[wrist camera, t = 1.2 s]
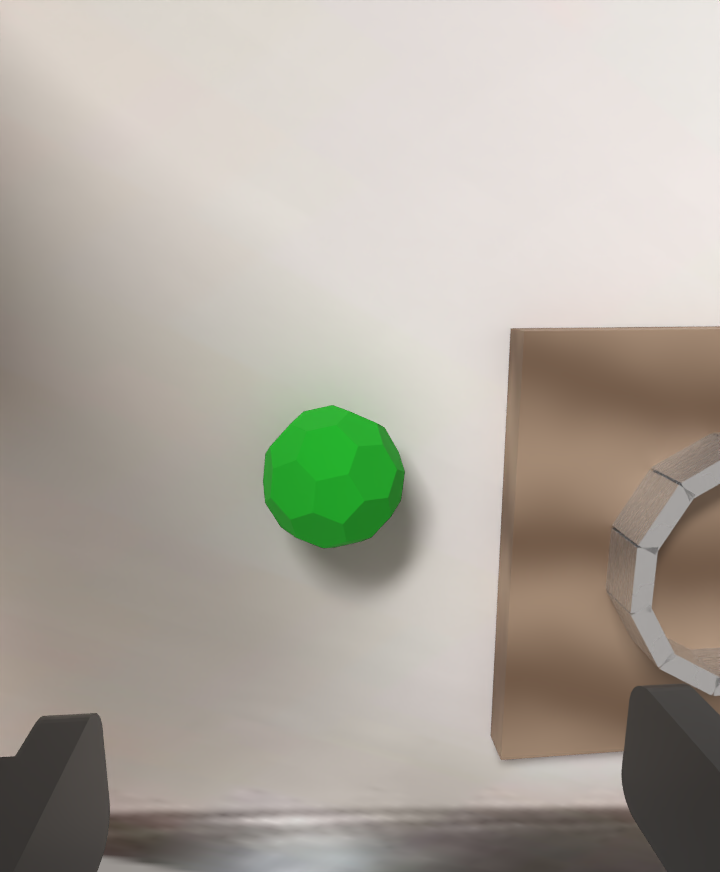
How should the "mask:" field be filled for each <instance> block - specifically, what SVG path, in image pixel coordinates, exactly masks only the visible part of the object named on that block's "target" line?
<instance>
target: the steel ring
mask: <svg viewBox="0 0 720 872" xmlns="http://www.w3.org/2000/svg"><path fill="white" fill-rule="evenodd" d="M651 468H652V470H653V471H651V470H649V471H648V472H647V474H646V475H645V477H644V478H643V480H642V481H641V483H640V484H639V486H638V487H637V489H636V490H635V492H634V493H633V495H632V496H631V498H630V499H629V501H628V502H627V504H626V505H625V507H624V508H623V510H622V511H621V513H620V514H619V516H618V517H617V519H616V520H615V522H614V523H613V525H612V526H613V527H615V528H611V535H610V546H609V557H608V568H607V579H606V590H607V591H606V592H607V594H608V596H609V597H610V599H611V601H612V603H613V605H614V607H615V609H616V611H617V613H618V615H619V616H620V618H621V620H622V622H623V624H624V626H625V628H626V630H627V632H628V633H629V635H630V637H631V639H632V640H633V641H634V643H635V644H636V645H637V646H638V647H639V648H640V649H641V650H642V651H643V652H644V653H645V654H646V655H647V656H648V657H649V658H650V659H651V660H652V662H653V663H654V664H655V665H656V666H657V667H658V668H659V669H661V670H663V671H664V672H666V673H668V674H670V675H672V676H674V677H676V678H678V679H680V680H682V681H684V682H686V683H688V684H690V685H692V686H694V687H696V688H698V689H700V690H702V691H704V692H706V693H707V694H709V695H713V696H720V648H703V649H688V648H686V647H684V646H682V645H680V644H679V643H677V642H675V641H673V640H671V639H669V638H667V637H666V636H665V634H664V632H663V630H662V628H661V626H660V624H659V622H658V620H657V618H656V616H655V614H654V612H653V610H652V600H653V590H654V581H655V572H656V563H657V554H658V550H659V549H660V547H661V546H662V544H663V543H664V541H665V540H666V538H667V537H668V535H669V534H670V533H671V531H672V530H673V528H674V527H675V525H676V524H677V522H678V521H679V519H680V518H681V516H682V515H683V513H684V512H685V511H686V509H687V508H688V506H689V505H690V503H691V502H692V500H693V499H694V498H696V497H697V496H699V495H701V494H703V493H704V492H706V491H708V490H710V489H711V488H713V487H715V486H717V485H718V484H720V433H713V434H708V435H707V436H705V437H703V438H702V439H700V440H698V441H696V442H695V443H693V444H691V445H689V446H688V447H686V448H684V449H683V450H681V451H679V452H677V453H676V454H674V455H672V456H670V457H669V458H667V459H665V460H663V461H662V462H660V463H658V464H657V465H655V466H653V467H651Z"/></svg>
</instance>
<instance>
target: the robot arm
mask: <svg viewBox="0 0 720 872" xmlns="http://www.w3.org/2000/svg"><path fill="white" fill-rule="evenodd" d="M622 785H623V791H624V795H625V799H626V802H627V805H628V808H629V810H630V812H631V815H632V817H633V818H634V820H635V822H636V823H637V825H638V826H639V828H640V830H641V831H642V833H643V834H644V836H645V837H646V839H647V841H648V842H649V844H650V845H651V847H652V848H653V850H654V852H655V853H656V855H657V856H658V858H659V860H660V861H661V863H662V864H663V866H664V867H665V869H666V871H667V872H720V715H719V714H718V713H717V712H716V711H715V710H714V709H713V708H712V707H711V706H710V705H709V704H708V703H707V702H706V701H705V700H704V699H703V698H702V697H701V696H700V695H699V694H698V693H697V692H696V691H695V690H694V689H693V688H692V687H691V686H689V685H688V684H684V683H682V684H663V685H644V686H636V687H635V688H634V689H633V690H632V692H631V695H630V699H629V707H628V716H627V725H626V735H625V744H624V753H623V763H622ZM109 816H110V803H109V791H108V781H107V771H106V760H105V750H104V739H103V729H102V723H101V719H100V716H99V715H98V714H97V713H92V714H73V715H54V716H42V717H40V718H39V719H38V721H37V722H36V723H35V725H34V727H33V728H32V730H31V731H30V733H29V735H28V736H27V738H26V740H25V741H24V743H23V744H22V746H21V748H20V749H19V751H18V753H17V754H16V756H13V757H0V872H97V870H98V868H99V865H100V862H101V859H102V856H103V853H104V849H105V845H106V840H107V835H108V828H109Z"/></svg>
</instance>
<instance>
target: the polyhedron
mask: <svg viewBox="0 0 720 872" xmlns="http://www.w3.org/2000/svg"><path fill="white" fill-rule="evenodd" d="M404 474H405V471H404V468H403V465H402V462H401V458H400V455H399V452H398V450H397V448H396V447H395V445H394V443H393V441H392V440H391V438H390V436H389V435H388V433H387V431H386V429H385V428H384V427H383V426H381V425H379V424H377V423H375V422H373V421H371V420H368V419H366V418H364V417H361V416H359V415H357V414H354V413H352V412H350V411H347V410H344V409H341V408H339V407H336V406H333V405H332V406H327V407H322V408H318V409H313V410H309V411H304V412H303V413H302V414H300V415H299V416H298V417H297V418H296V419H295V420H294V421H293V422H292V423H291V424H290V425H289V426H288V427H287V428H286V430H285V431H284V432H283V433H282V434H281V435H280V436H279V437H278V438H277V439H276V441H275V442H274V443H273V444H272V445H271V446H270V448H269V449H268V451H267V452H266V454H265V466H264V478H263V485H264V495H265V503H266V505H267V506H268V508H269V509H270V511H271V513H272V514H273V516H274V517H275V519H276V520H277V522H278V523H279V525H280V526H281V527H282V528H283V529H284V530H286V531H287V532H289V533H290V534H292V535H293V536H294V537H296V538H298V539H301V540H303V541H306V542H308V543H311V544H314V545H316V546H319V547H321V548H334V547H338V546H343V545H347V544H352V543H356V542H360V541H364V540H366V539H369V538H371V537H372V536H373V535H374V534H375V533H376V532H377V531H378V530H379V529H380V528H381V527H382V526H383V525H384V523H385V522H386V521H387V520H388V519H389V518H390V517H391V516H392V514H393V512H394V511H395V509H396V508H397V506H398V504H399V503H400V501H401V496H402V489H403V482H404Z"/></svg>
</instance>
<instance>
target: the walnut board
mask: <svg viewBox="0 0 720 872" xmlns="http://www.w3.org/2000/svg"><path fill="white" fill-rule="evenodd" d="M713 433H720V327H617V328H513V329H511V334H510V355H509V375H508V395H507V416H506V436H505V456H504V477H503V497H502V517H501V538H500V558H499V579H498V599H497V619H496V640H495V660H494V680H493V701H492V721H491V738H492V740H493V742H494V745H495V747H496V749H497V752H498V754H499V756H500V759H501V760H507V759H521V758H535V757H548V756H562V755H576V754H590V753H604V752H618V751H624V744H625V735H626V725H627V716H628V707H629V699H630V695H631V692H632V690H633V689H634V688H635V687H636V686H644V685H663V684H682V683H684V684H688V683H686V682H684V681H682V680H680V679H678V678H676V677H674V676H672V675H670V674H668V673H666V672H664V671H663V670H661V669H659V668H658V667H657V666H656V665H655V664H654V663H653V662H652V660H651V659H650V658H649V657H648V656H647V655H646V654H645V653H644V652H643V651H642V650H641V649H640V648H639V647H638V646H637V645H636V644H635V643H634V641H633V640H632V639H631V637H630V635H629V633H628V632H627V630H626V628H625V626H624V624H623V622H622V620H621V618H620V616H619V615H618V613H617V611H616V609H615V607H614V605H613V603H612V601H611V599H610V597H609V596H608V594H607V592H606V591H607V590H606V579H607V568H608V557H609V546H610V535H611V528H615V527H613V526H612V525H613V523H614V522H615V520H616V519H617V517H618V516H619V514H620V513H621V511H622V510H623V508H624V507H625V505H626V504H627V502H628V501H629V499H630V498H631V496H632V495H633V493H634V492H635V490H636V489H637V487H638V486H639V484H640V483H641V481H642V480H643V478H644V477H645V475H646V474H647V472H648V471H649V470H651V471H653V470H652V468H651V467H653V466H655V465H657V464H658V463H660V462H662V461H663V460H665V459H667V458H669V457H670V456H672V455H674V454H676V453H677V452H679V451H681V450H683V449H684V448H686V447H688V446H689V445H691V444H693V443H695V442H696V441H698V440H700V439H702V438H703V437H705V436H707V435H708V434H713ZM652 610H653V612H654V614H655V616H656V618H657V620H658V622H659V624H660V626H661V628H662V630H663V632H664V634H665V636H666V637H667V638H669V639H671V640H673V641H675V642H677V643H679V644H680V645H682V646H684V647H686V648H688V649H703V648H720V484H718V485H717V486H715V487H713V488H711V489H710V490H708V491H706V492H704V493H703V494H701V495H699V496H697V497H696V498H694V499H693V500H692V502H691V503H690V505H689V506H688V508H687V509H686V511H685V512H684V513H683V515H682V516H681V518H680V519H679V521H678V522H677V524H676V525H675V527H674V528H673V530H672V531H671V533H670V534H669V535H668V537H667V538H666V540H665V541H664V543H663V544H662V546H661V547H660V549H659V550H658V554H657V563H656V572H655V581H654V590H653V600H652ZM688 685H689V686H691V687H692V688H693V689H694V690H695V691H696V692H697V693H698V694H699V695H700V696H701V697H702V698H703V699H704V700H705V701H706V702H707V703H708V704H709V705H710V706H711V707H712V708H713V709H714V710H715V711H716V712H717V713H718V714H719V715H720V696H713V695H709V694H707V693H706V692H704V691H702V690H700V689H698V688H696V687H694V686H692V685H690V684H688Z"/></svg>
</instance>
